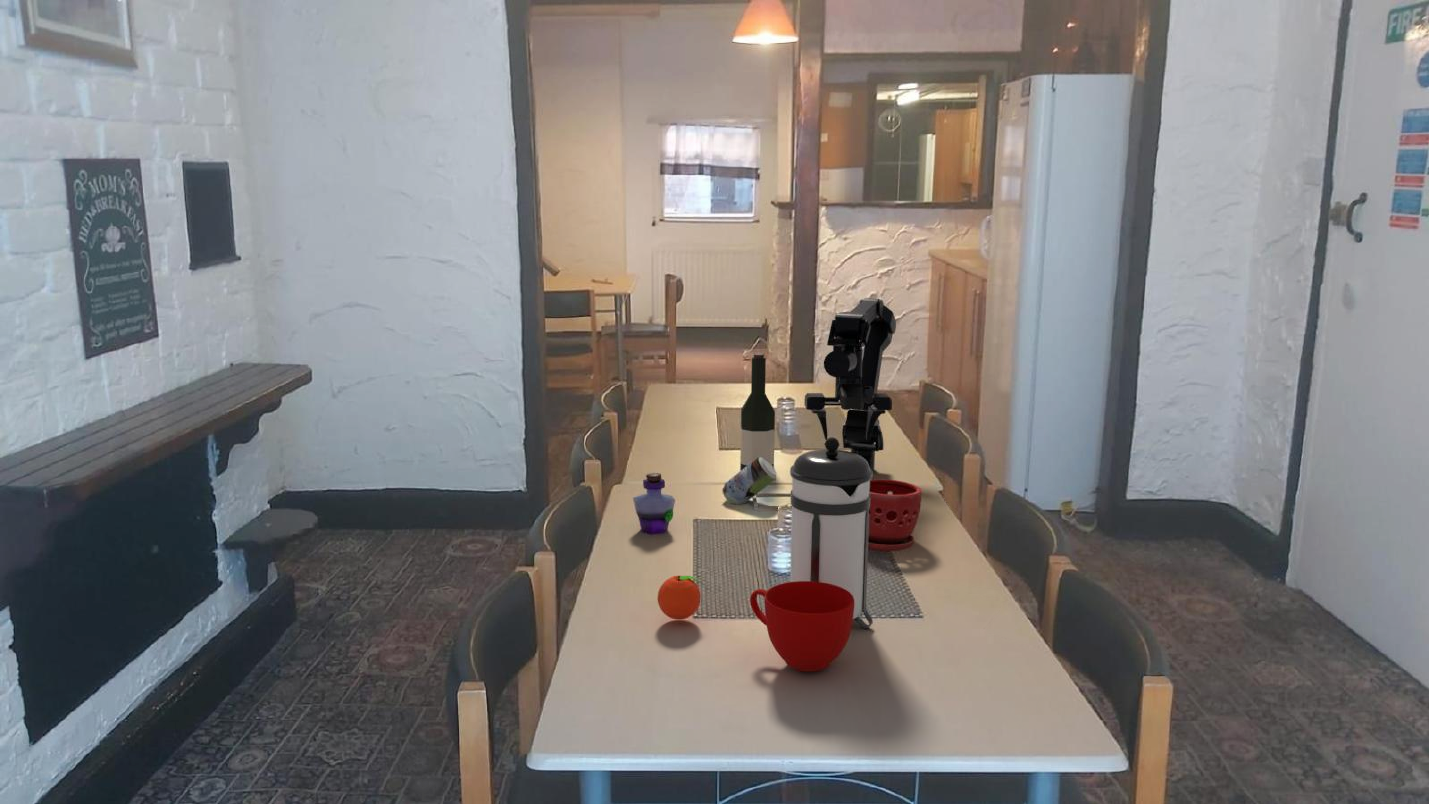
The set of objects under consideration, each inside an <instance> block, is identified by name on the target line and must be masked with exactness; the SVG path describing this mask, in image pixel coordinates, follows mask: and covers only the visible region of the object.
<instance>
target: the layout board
mask: <svg viewBox="0 0 1429 804" xmlns="http://www.w3.org/2000/svg"><path fill="white" fill-rule="evenodd" d="M892 494H893V493H892V492H890V493H889V492H888V495H892ZM757 497H758V498H759V497H760V498H761V497H791V492H759V493H757V494H756V495H755V496H754V497H752V498H751V499H752V503H753V508H754V512H760V511H762V512H763V511H767V512H768V511H769V512H771V511H777V510H778V507H779V506H780V505H758V499H757Z"/></svg>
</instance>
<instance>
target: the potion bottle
mask: <svg viewBox="0 0 1429 804" xmlns="http://www.w3.org/2000/svg"><path fill="white" fill-rule="evenodd" d="M645 477H646V478H645V479H643V481H642V487H643V489H646V493H643V494H642V493H641V494H640V495H637V496H633V497H632V502H633V505H634V509H635V513H636V515H637V517H638V521H639V526H640V530H641V532H642V534H643V533H644V534H649V535H658V534H663V533H666V532H667V531H668V528H669V525H670V522H671V521H672V519H673V517H674V507H675V503H676V499H675V498H674V496H673V495H671V494H666V493H665V494H664V493H662V490H663V489H665V488H666V487H665V485H666V484H665V483H666V482H665V480H664V478H662V474H661V473H659V472H651V473H647V474H646V475H645Z"/></svg>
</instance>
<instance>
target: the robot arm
mask: <svg viewBox="0 0 1429 804" xmlns="http://www.w3.org/2000/svg"><path fill="white" fill-rule="evenodd" d="M896 321H897V320H896V318H895V313H894V312H893V310H892V309H890V308H889V307H887V306H886V305H885V304H884V301H883V300H882V299H880V298H870V297H869V298H868V297H865V298H863V299H860V300H859V303H858V304H857V305H856V306H855V307H854V308H853V309H851V310H850V311H840V312H838V313H836V314H835V316H834V317H833V318H832V320H831V324H830V325H831V326H830V329H829V333H828V338H827V343H826V346H831V347H832V351H830V352H828V354H826V356H825V357H824V360H823V368H824V370H825V372H826V373H827V375H829V376H831V377H833V378H835V387H834V388H835V389H834V392H835V393H834V397H833V396H831V397H830V396H828V397H827V396H825V395H824V394H823V393H822V392H807V393H806V394H805V395H804V401H803V402H804V407H805V408H806V410H807V411H808V410H809V411H811V413H812V414H814V415H815V414H816V416H817V418H818V420H819V423H820V427H821V429H822V433H823V438H824V440H825V441H826V440H827V439H828V424H827V410H826V409H825V407H826V406H835V407H836V406H840V408H841V409H842V410H845V411H847V413H846V418H845V422H844V423H843V425H842V431H841V432H842V433H841V434H842V445H843V446H842V447H843V449H850V452H852V453H855V454H858V455H860V456H861V457H863V458H864V459H865V460H866V461H867V462H868V464H869V468H870V469H871V470H872V471H873V472H874V471H875V466H876V465H875V461H876V460H875V459H876V458H875V457H876V452H879V451H883V450H884V445H885V444H884V437H883V431H882V429H881V426H880V420H879V417H880V416H881V415H882V414H883V415H885V414H886V411H892V409H893V399H892V398H891V397H890V396H889V395H888V394H887V393H886V392H885V393H882V392H881V393H878V390H879V389H878V387H879V383H880V382H879V381H880V374H881V367H882V360H883V355H884V351H886V349H887V348H888V347H889V346H890V344H891V343H892V341H893V340H892V339H893V334H895V333H896V329H897V322H896Z"/></svg>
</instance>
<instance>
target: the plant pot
mask: <svg viewBox="0 0 1429 804" xmlns="http://www.w3.org/2000/svg"><path fill="white" fill-rule="evenodd" d="M869 492H870V494H871V502H870V508H869V537H868V550H869V549H870V550H876V551H887V552H888V551H889V552H890V551H892V552H893V551H900V550H904V549H907V548H910V547H911V546H912V545H913V544H914V542H915V538H914V536H913V535H912V534H913V532H914V530H915V528H916V526H917V523H918V519H919V516H920V513H921V512H920V510H921V505H922V494H923V493H922V492H923V491H922V489H921V488H920V487H919V486H917V485H915V484H913V483H909V482H906V481H902V480H897V479H896V480H894V479H885V478H884V479H881V478H879V479H877V478H874V479H873V478H872V479H871V480H870V488H869ZM889 492H890V493H893V494H892V495H888V493H889Z"/></svg>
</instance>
